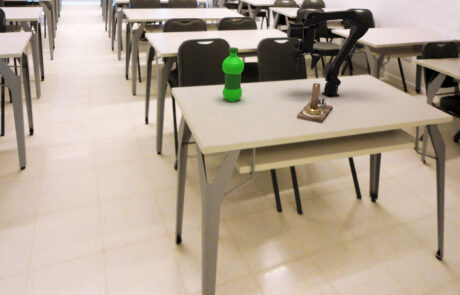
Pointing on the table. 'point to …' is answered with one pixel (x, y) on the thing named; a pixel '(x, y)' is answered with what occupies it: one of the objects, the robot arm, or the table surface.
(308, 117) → the gear board
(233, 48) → the plastic bottle
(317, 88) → the brass gear
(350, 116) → the table surface
